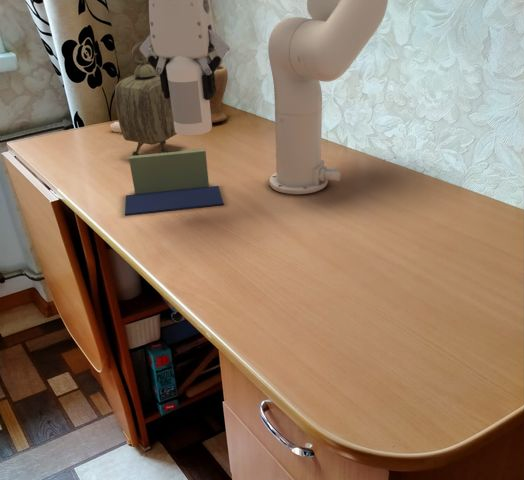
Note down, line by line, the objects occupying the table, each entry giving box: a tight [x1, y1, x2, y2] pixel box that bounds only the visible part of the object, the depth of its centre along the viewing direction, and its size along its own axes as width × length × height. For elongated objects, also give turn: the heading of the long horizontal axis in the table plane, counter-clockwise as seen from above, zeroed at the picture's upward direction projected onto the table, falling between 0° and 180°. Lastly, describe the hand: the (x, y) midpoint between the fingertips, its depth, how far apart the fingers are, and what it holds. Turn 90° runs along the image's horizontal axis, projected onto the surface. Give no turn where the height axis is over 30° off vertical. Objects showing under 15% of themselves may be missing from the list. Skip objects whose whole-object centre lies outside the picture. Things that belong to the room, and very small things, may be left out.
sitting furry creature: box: [109, 121, 122, 134], centre depth 158 cm, size 10×9×12 cm
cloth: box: [124, 185, 224, 216], centre depth 120 cm, size 10×20×1 cm, turn 100°
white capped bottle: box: [166, 55, 213, 137], centre depth 99 cm, size 7×7×18 cm
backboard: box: [128, 148, 210, 194], centre depth 123 cm, size 2×16×8 cm, turn 100°
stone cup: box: [209, 64, 229, 124], centre depth 162 cm, size 15×12×15 cm
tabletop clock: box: [114, 41, 178, 156], centre depth 137 cm, size 14×9×25 cm, turn 149°
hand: (189, 96), depth 101 cm, fingers closed on white capped bottle, 6 cm apart
